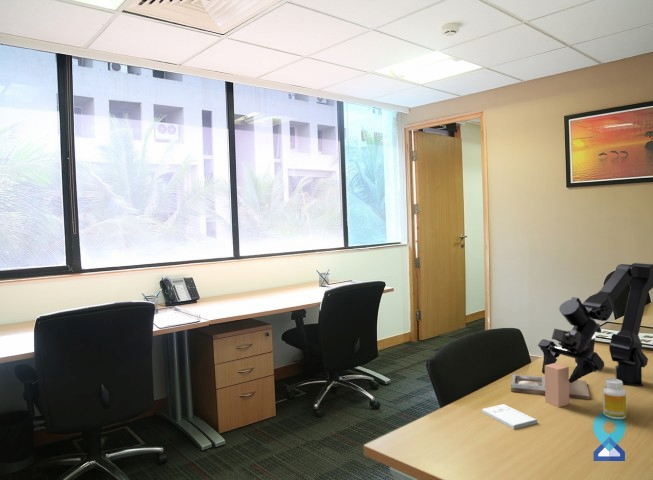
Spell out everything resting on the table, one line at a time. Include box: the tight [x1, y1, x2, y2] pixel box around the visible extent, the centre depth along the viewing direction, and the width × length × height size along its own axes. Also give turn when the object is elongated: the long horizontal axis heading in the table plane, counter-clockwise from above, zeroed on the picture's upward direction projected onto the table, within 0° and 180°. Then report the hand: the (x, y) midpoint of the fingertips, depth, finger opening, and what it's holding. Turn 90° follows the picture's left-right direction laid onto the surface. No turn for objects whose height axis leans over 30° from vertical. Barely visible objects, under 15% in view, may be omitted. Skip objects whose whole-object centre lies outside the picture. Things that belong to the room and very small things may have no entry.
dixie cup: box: [574, 334, 597, 367], centre depth 174 cm, size 8×8×11 cm
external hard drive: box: [481, 403, 538, 430], centre depth 134 cm, size 2×8×12 cm
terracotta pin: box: [544, 362, 570, 408], centre depth 142 cm, size 4×4×11 cm
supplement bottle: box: [602, 377, 627, 420], centre depth 132 cm, size 5×5×10 cm
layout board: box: [510, 373, 591, 400], centre depth 155 cm, size 22×14×2 cm, turn 66°
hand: (556, 377), depth 142 cm, fingers open, 9 cm apart
